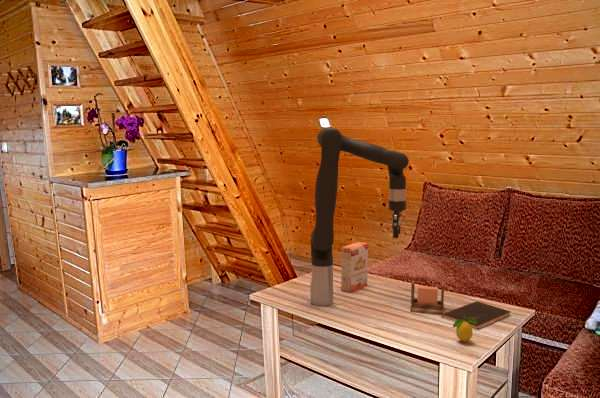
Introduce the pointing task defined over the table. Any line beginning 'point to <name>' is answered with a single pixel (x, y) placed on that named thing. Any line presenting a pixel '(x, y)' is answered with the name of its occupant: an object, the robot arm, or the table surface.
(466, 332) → the lemon
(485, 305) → the hardcover book
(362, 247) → the cracker box
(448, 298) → the table surface
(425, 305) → the track frame
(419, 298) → the door panel
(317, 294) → the robot arm
